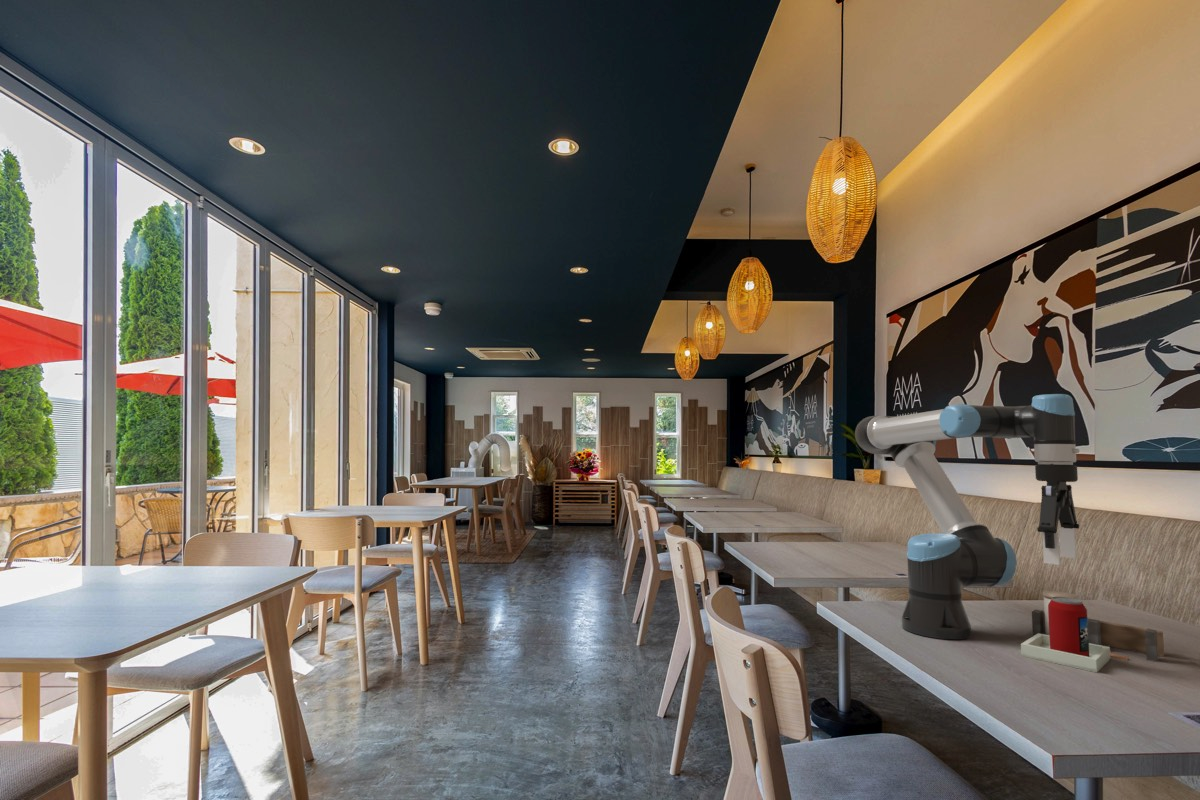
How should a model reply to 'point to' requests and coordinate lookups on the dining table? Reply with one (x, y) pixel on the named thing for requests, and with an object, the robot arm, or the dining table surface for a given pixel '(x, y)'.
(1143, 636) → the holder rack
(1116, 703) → the dining table surface
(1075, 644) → the beverage can
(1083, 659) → the tray
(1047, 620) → the ceramic jar
